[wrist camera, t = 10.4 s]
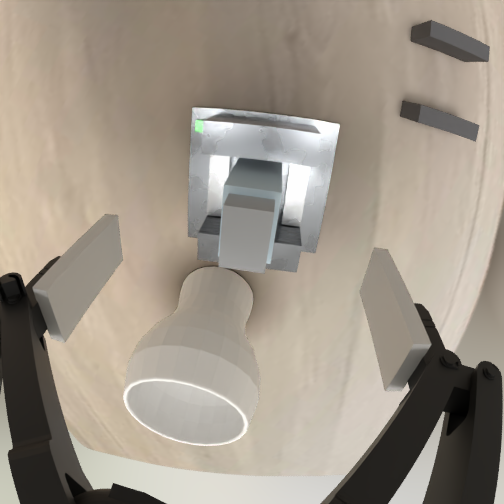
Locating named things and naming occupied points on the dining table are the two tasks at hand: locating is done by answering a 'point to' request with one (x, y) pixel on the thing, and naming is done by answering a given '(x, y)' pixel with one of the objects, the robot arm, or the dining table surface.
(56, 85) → the dining table surface
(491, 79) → the dining table surface
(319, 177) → the port
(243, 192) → the plug
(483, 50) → the pair of dark bars
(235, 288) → the cup
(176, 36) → the dining table surface
